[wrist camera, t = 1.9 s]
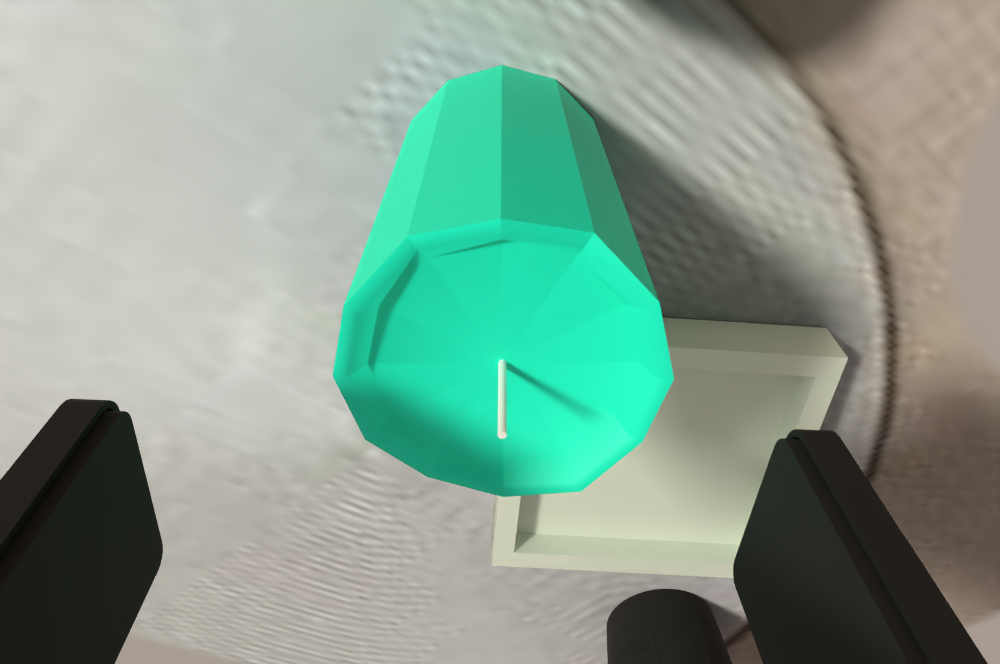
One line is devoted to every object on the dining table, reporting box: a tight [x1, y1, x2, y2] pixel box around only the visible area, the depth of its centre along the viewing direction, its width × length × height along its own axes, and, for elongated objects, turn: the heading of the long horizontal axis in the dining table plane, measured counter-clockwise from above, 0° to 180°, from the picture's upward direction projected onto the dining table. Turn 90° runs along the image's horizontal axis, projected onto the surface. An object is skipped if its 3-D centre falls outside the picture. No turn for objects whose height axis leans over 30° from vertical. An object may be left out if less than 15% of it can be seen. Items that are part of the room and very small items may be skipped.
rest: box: [492, 317, 848, 578], centre depth 26 cm, size 11×11×2 cm
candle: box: [333, 65, 674, 497], centre depth 16 cm, size 6×6×12 cm
